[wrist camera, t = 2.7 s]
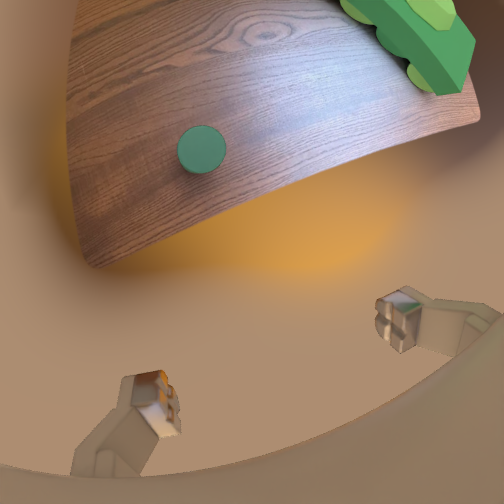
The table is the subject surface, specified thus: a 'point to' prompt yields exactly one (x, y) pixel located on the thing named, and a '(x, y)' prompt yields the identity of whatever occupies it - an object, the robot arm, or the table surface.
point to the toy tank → (421, 39)
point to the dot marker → (201, 149)
